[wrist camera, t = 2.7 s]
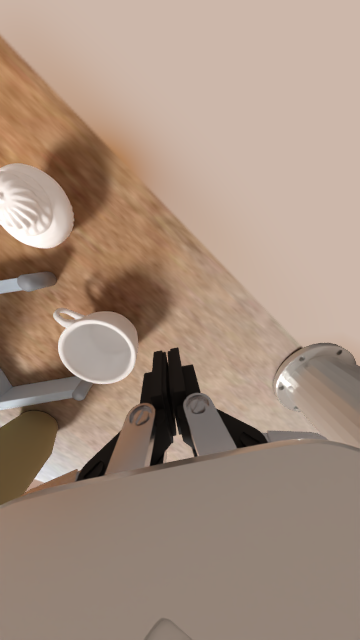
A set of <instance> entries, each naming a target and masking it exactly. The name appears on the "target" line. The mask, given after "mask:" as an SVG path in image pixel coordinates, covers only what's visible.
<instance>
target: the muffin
mask: <svg viewBox="0 0 360 640" xmlns="http://www.w3.org/2000/svg"><path fill="white" fill-rule="evenodd" d="M73 222H74V213H73V212H72V206H71V204H70V201H69V199H68V197H67V195H66V194H65V192H64V190H63V189H62V188H61V186H60V185H59V184H58V183H57V182H56V181H55V180H54V179H53V178H52V177H50V176H49V175H48V174H46V173H45V172H43V171H41V170H39V169H37V168H35V167H32V166H29V165H26V164H20V163H14V164H9V165H6V166H4V167H2V168H0V224H1V225H2V227H3V228H4V229H5V230H6V231H7V232H8V233H9V234H11V235H12V236H13V237H14V238H16V239H17V240H19V241H21V242H22V243H24V244H27V245H30V246H33V247H37V248H52V247H55V246H58V245H59V244H61V243H62V242H63V241H64V240H66V238H67V237H69V236H70V232H72V228H73V226H74V224H73Z"/></svg>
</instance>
